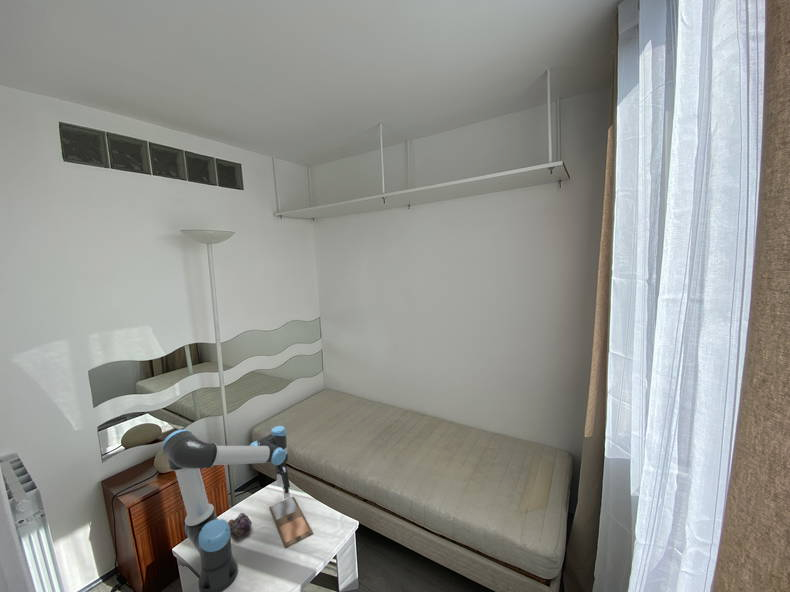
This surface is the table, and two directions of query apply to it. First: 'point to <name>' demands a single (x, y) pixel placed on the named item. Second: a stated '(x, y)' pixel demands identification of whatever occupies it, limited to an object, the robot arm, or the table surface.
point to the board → (290, 522)
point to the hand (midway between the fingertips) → (283, 491)
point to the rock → (240, 524)
